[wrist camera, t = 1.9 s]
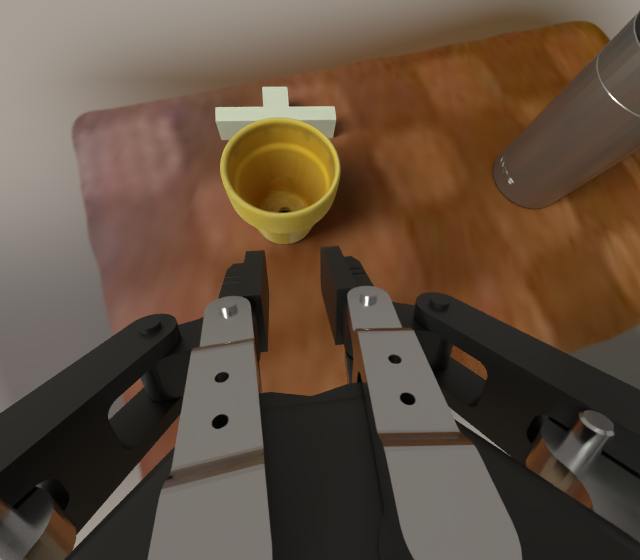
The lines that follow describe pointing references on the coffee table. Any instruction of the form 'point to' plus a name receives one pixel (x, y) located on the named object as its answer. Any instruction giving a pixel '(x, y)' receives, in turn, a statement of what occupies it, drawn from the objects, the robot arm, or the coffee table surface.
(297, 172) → the plant pot
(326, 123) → the t stop
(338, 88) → the coffee table surface
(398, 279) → the coffee table surface
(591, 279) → the coffee table surface
